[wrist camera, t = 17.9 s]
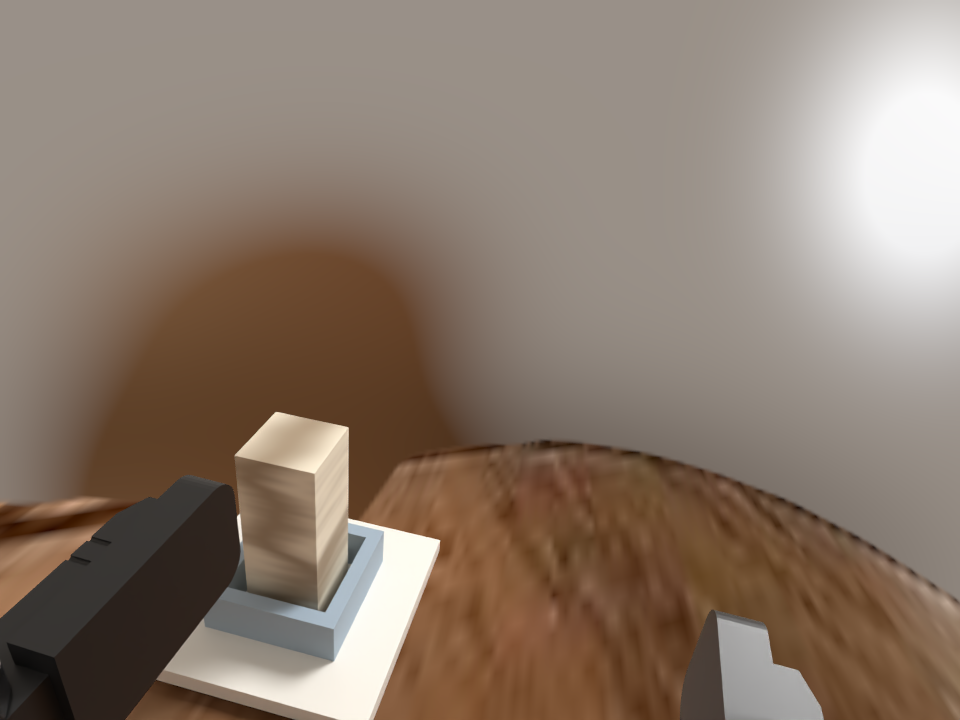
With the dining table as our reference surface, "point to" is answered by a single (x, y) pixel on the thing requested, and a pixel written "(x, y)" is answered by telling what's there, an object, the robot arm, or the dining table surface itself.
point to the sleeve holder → (312, 635)
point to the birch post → (295, 510)
